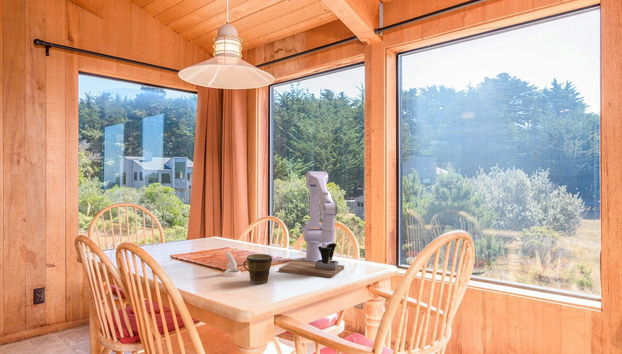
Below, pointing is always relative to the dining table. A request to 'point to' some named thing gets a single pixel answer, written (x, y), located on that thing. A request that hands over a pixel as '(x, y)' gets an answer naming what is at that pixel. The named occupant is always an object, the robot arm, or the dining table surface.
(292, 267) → the keeper board
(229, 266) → the hook
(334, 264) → the silver rectangular frame
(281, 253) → the dining table surface
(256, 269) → the ceramic cup
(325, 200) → the robot arm
